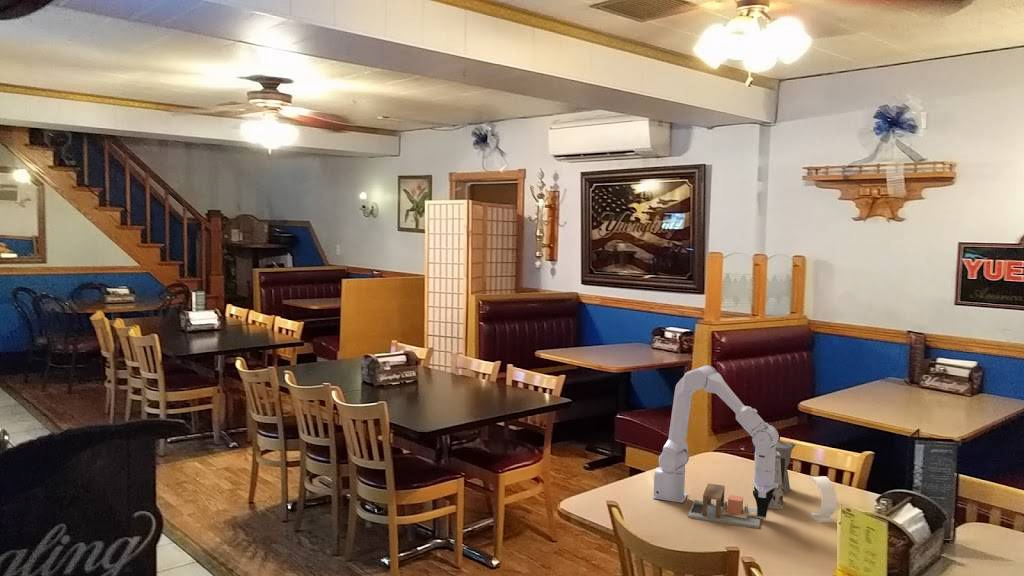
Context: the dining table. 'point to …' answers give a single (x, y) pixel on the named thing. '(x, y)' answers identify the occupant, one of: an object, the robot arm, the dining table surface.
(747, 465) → the dining table surface
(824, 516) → the headphone stand
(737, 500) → the block
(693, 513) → the track board
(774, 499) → the coffee box
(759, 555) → the dining table surface
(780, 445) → the coffeepot
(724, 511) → the sled
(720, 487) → the bridge
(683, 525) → the dining table surface
